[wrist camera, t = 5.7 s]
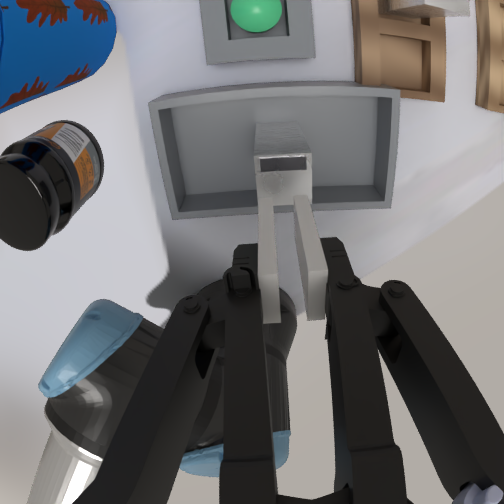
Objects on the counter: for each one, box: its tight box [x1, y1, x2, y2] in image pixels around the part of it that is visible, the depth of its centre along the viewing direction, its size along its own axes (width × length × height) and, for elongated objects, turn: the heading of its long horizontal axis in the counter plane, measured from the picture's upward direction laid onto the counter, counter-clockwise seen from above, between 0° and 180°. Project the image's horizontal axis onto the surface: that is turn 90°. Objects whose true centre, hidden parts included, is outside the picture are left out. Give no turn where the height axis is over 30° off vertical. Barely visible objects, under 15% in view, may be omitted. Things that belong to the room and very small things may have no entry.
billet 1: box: [254, 121, 312, 206], centre depth 27 cm, size 4×4×10 cm
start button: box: [230, 0, 282, 33], centre depth 21 cm, size 4×4×3 cm
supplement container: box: [0, 120, 104, 251], centre depth 28 cm, size 10×10×12 cm
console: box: [200, 0, 315, 65], centre depth 22 cm, size 9×9×4 cm
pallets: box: [351, 0, 504, 113], centre depth 22 cm, size 14×24×2 cm, turn 95°
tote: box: [148, 81, 400, 220], centre depth 29 cm, size 12×22×4 cm, turn 95°
